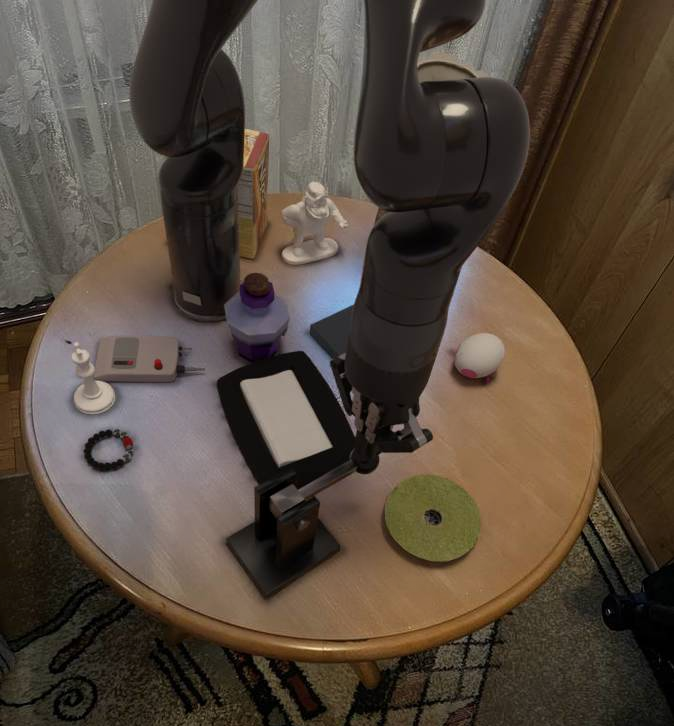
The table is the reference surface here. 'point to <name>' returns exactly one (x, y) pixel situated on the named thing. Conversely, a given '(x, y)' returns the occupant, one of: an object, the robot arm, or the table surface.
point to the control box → (333, 332)
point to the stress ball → (479, 355)
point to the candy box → (253, 192)
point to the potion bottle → (257, 318)
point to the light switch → (285, 418)
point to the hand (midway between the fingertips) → (367, 451)
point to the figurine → (311, 226)
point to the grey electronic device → (139, 359)
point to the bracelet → (107, 466)
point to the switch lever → (319, 484)
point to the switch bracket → (282, 539)
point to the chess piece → (90, 386)
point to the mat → (432, 517)
